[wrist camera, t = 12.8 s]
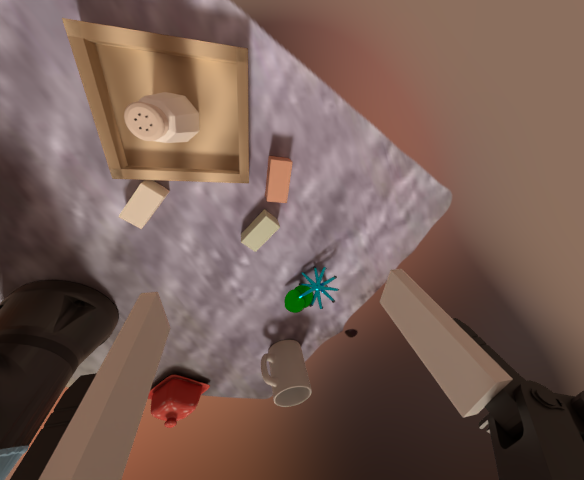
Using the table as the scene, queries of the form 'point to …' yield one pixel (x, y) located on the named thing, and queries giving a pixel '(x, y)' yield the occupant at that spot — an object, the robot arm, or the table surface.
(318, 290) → the stick construction toy
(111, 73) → the oak tray
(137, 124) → the pepper shaker
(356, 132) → the table surface
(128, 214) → the cream brick
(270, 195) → the terracotta brick
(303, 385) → the mug
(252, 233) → the sage brick
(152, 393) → the butter dish
